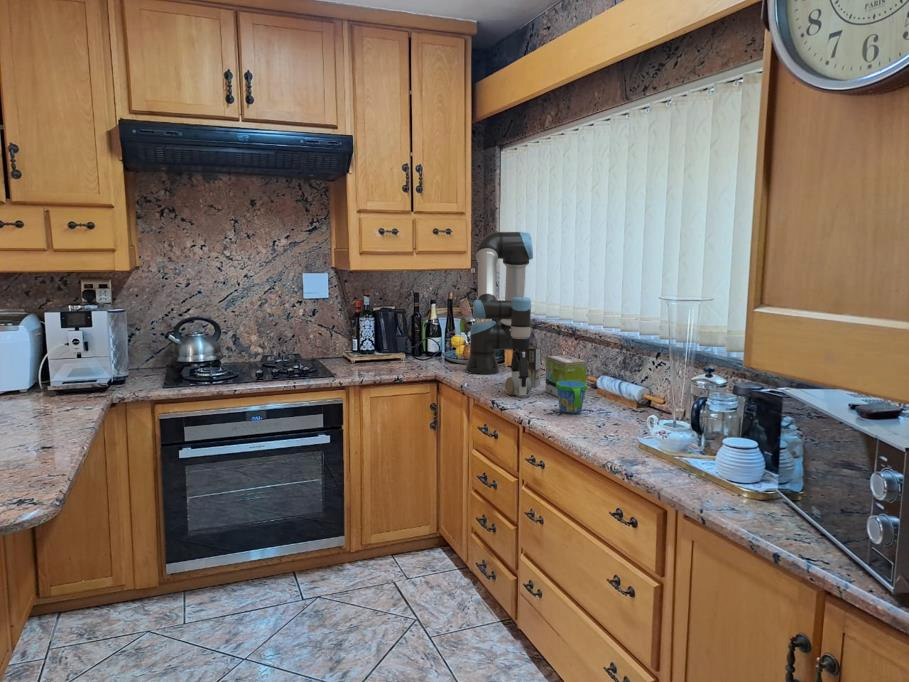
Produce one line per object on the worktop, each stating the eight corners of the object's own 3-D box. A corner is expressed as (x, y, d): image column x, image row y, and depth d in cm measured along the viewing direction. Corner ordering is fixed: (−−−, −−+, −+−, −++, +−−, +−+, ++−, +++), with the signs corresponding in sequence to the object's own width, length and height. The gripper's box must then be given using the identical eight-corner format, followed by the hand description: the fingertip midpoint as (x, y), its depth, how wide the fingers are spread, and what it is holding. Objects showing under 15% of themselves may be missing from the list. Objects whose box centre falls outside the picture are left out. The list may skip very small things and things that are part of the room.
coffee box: (540, 385, 279) (542, 347, 277) (535, 387, 274) (536, 349, 272) (520, 382, 284) (521, 345, 282) (514, 385, 278) (515, 347, 276)
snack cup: (590, 417, 225) (591, 388, 224) (559, 417, 225) (560, 387, 224) (580, 406, 241) (582, 379, 240) (551, 406, 241) (552, 378, 239)
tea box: (544, 392, 265) (545, 355, 263) (566, 390, 269) (567, 354, 267) (563, 400, 251) (564, 361, 250) (586, 398, 255) (587, 360, 253)
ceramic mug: (503, 393, 262) (504, 374, 261) (521, 391, 265) (522, 372, 264) (516, 399, 252) (517, 379, 251) (535, 397, 256) (536, 378, 255)
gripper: (504, 333, 269) (503, 385, 272) (517, 341, 244) (516, 398, 247) (522, 333, 270) (521, 384, 273) (537, 341, 245) (535, 398, 248)
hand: (518, 391), depth 260 cm, fingers open, 13 cm apart
